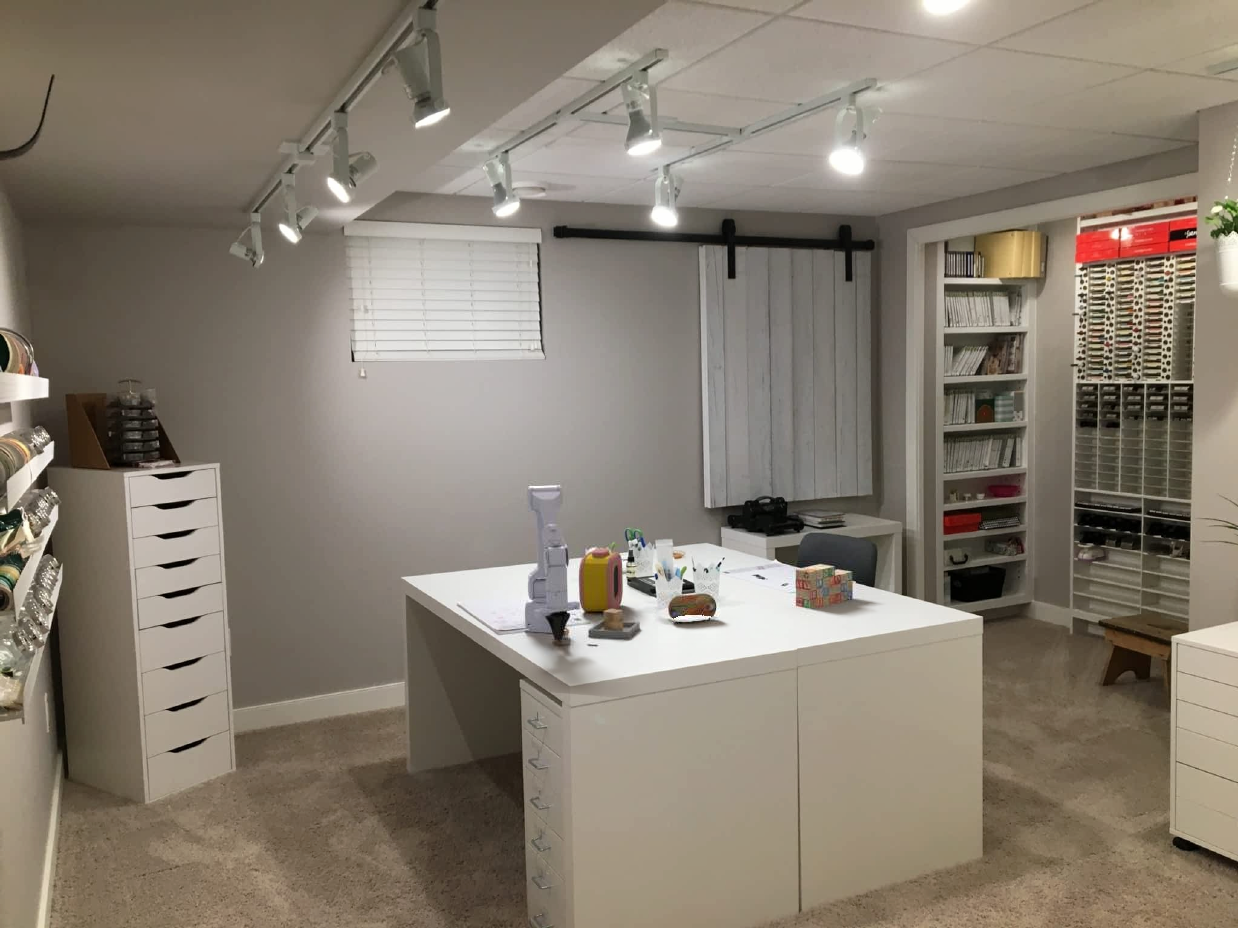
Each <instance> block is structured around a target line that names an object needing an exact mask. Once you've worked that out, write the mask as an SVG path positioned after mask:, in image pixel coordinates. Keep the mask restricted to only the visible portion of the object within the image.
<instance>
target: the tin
mask: <svg viewBox="0 0 1238 928" xmlns="http://www.w3.org/2000/svg"><path fill="white" fill-rule="evenodd" d="M667 609H668V610H667V611H668V614H669V617H670V618H671V619H672V618H673V619H674V618H676V617H678V616H685V615H702V616H703V615H704V616H711V617H712V618H713V617H714V616H715V614H716V611H717V602H716V600H715V598H714V596H712V595H710V594H708V593H693V594H682V595H676V596H675V597H673V598H671V600H670V601H669V603H668V607H667ZM673 619H672V620H673Z"/></svg>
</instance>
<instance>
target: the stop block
mask: <svg viewBox="0 0 1238 928" xmlns="http://www.w3.org/2000/svg"><path fill="white" fill-rule="evenodd" d="M623 611H624V610H622V609H618V608H617V609H609V610H606V611H603V620H604V630H612V631H623V621H624V620H623V619H624V617H623V616H624V614H623V613H624V612H623Z"/></svg>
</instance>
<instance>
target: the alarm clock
mask: <svg viewBox="0 0 1238 928" xmlns="http://www.w3.org/2000/svg"><path fill="white" fill-rule="evenodd" d="M580 560H581V561H580V564H579V569H578V589H579V591H578V594H579V595H578V596H579V597H578V598H579V602H580V609H582V611H584V612H585V613H588V612H603V611H606V610H609V609H617V610H618V608H619V607H620V605H621V604H622V600H623V592H624V588H623V585H624V584H623V583H624V581H623V560H622V556H621V554H620V553H619V552H617V551H614V552H610V549H609V548H608V547H607V548H606V547H598V548H595V549H593V550H592V551H590V552H588V553H587V554H586V555H584V556H583V557H582V558H581V559H580Z"/></svg>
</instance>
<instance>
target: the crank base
mask: <svg viewBox="0 0 1238 928" xmlns="http://www.w3.org/2000/svg"><path fill="white" fill-rule="evenodd" d="M568 639H569V645H570V644H571V638H570V637H568ZM553 644H554V645H553ZM552 645H553V646H556V645H565V646H568V644H562V642H561V641H560V640H555V639H554V638H553V639H552ZM587 645H596V646H595V647H598V644H593V643H591V644H589V643H588V644H587Z"/></svg>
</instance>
